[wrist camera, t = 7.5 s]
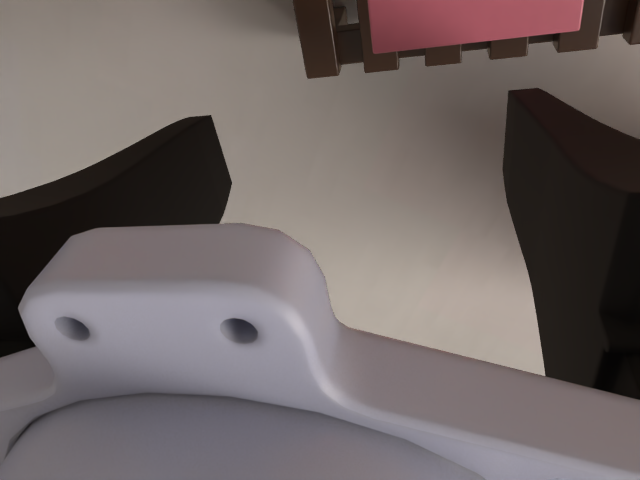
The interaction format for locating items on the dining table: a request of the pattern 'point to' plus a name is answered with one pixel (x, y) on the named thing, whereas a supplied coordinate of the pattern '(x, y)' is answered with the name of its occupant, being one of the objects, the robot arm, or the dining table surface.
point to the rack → (356, 46)
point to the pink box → (466, 21)
